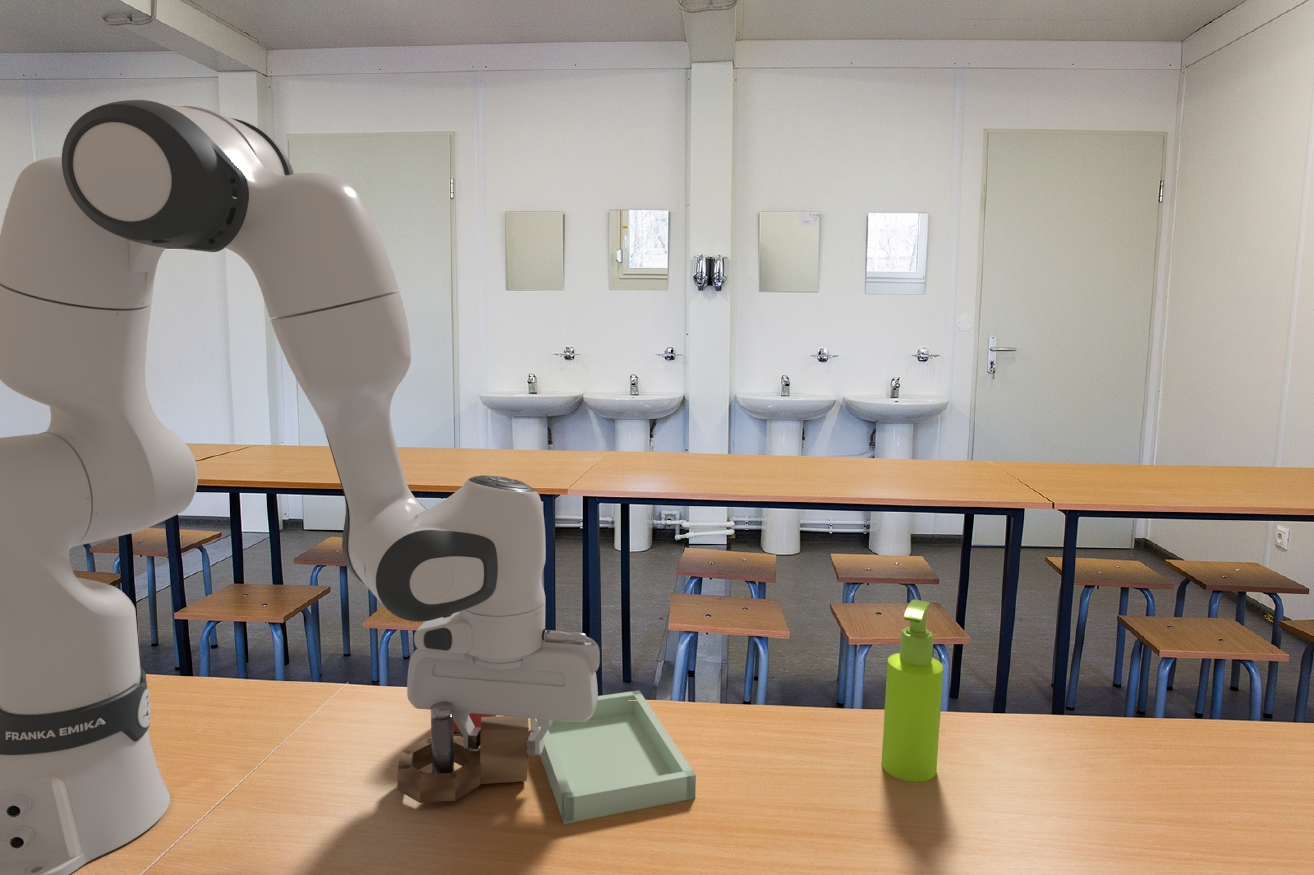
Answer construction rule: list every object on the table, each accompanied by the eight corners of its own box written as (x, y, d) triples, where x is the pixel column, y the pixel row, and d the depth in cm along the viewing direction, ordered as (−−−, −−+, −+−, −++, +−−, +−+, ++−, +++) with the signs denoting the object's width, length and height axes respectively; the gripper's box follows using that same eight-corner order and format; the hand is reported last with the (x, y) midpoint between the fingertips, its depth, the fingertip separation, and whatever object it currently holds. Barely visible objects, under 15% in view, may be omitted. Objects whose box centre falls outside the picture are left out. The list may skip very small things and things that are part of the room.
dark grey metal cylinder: (433, 803, 81) (431, 713, 80) (432, 791, 83) (430, 703, 82) (455, 799, 82) (453, 710, 80) (453, 788, 84) (451, 700, 82)
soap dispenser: (874, 783, 86) (884, 609, 83) (887, 754, 92) (896, 590, 89) (929, 799, 83) (942, 619, 80) (939, 767, 89) (951, 599, 86)
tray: (563, 827, 77) (563, 798, 77) (530, 729, 96) (530, 705, 96) (695, 802, 82) (695, 775, 81) (638, 713, 101) (639, 690, 100)
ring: (404, 759, 87) (404, 708, 86) (524, 752, 89) (526, 703, 89) (394, 804, 79) (395, 749, 78) (527, 796, 81) (529, 742, 80)
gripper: (605, 623, 84) (603, 742, 86) (424, 610, 87) (426, 726, 89) (594, 646, 78) (592, 774, 80) (399, 632, 80) (401, 757, 82)
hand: (503, 749), depth 84 cm, fingers closed on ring, 5 cm apart
